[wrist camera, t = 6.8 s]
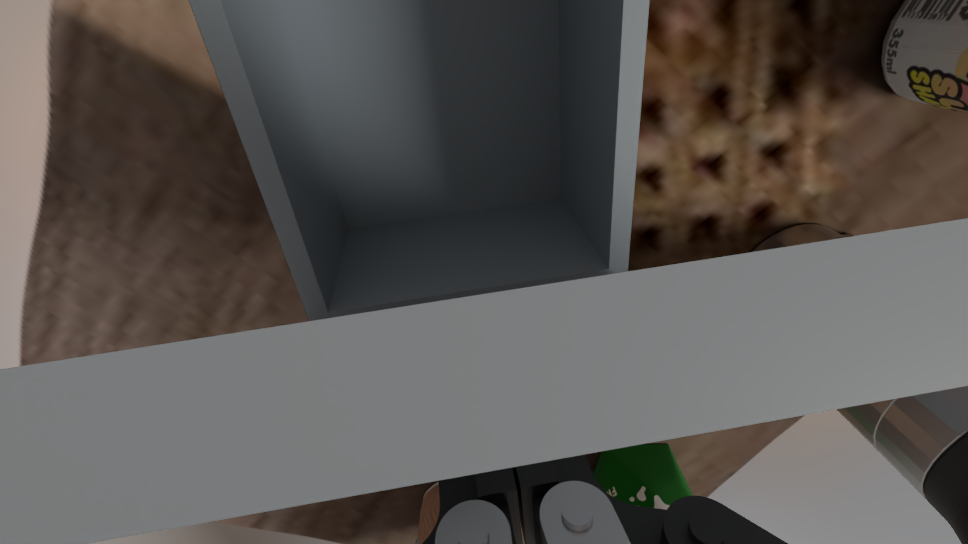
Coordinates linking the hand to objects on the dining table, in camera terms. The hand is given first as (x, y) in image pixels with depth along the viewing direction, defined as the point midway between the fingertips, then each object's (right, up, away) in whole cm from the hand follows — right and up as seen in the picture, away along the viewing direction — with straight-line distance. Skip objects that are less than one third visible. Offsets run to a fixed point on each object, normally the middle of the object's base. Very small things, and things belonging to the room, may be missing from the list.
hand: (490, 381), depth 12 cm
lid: (0, +2, +2) cm, 2 cm away
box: (-3, +15, +15) cm, 21 cm away
